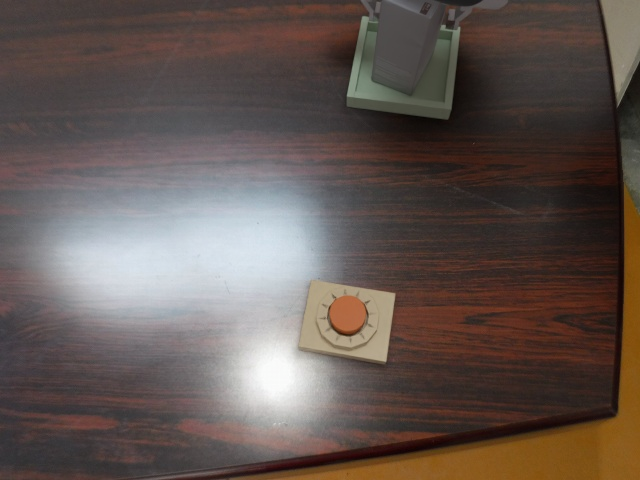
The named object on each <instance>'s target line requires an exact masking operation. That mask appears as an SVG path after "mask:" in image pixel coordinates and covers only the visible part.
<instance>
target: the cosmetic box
mask: <svg viewBox="0 0 640 480" xmlns="http://www.w3.org/2000/svg"><path fill="white" fill-rule="evenodd" d="M380 2H381V5H380V13H379V22H378V29H377V37H376V45H375V53H374V61H373V68H372V77H371V79H372V80H373V81H375V82H377V83H380V84H383V85H385V86H387V87H390V88H392V89H395V90H397V91H399V92H402V93H404V94H407V95H409V96H411V95H412V94H413V92H414V90H415V88H416V86H417V84H418V82H419V81H420V79H421V77H422V75H423V73H424V71H425V69H426V67H427V65H428V63H429V61H430V59H431V57H432V55H433V53H434V49H435V46H436V42H437V39H438V36H439V32H440V29H441V26H442V25H443V22H444V19H445V15H446V12H447V10H448V9H447V8H448V5H443V4H441V3H440V2H437V1H435V0H380Z"/></svg>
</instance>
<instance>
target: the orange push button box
mask: <svg viewBox="0 0 640 480" xmlns="http://www.w3.org/2000/svg"><path fill="white" fill-rule="evenodd" d="M346 295H350V296H354V297H356V298H358V299H359V300H361V301H362V303H363V304H364V306H365V309H366V319H365V323H364V325H363V327H362V328H361V329H360V330H359V331H358V332H356V333H353V334H343V333H340V332H338V331H337V330H336V329H335V328H334V327H333V326H332V324H331V321H330V307H331V305H332V303H333V302H334V301H335V300H336V299H337V298H339V297H341V296H346ZM395 301H396V292H390V291H384V290H378V289H372V288H365V287H359V286H353V285H347V284H340V283H335V282H334V283H333V282H328V281H322V280H317V279H311V280H310V282H309V289H308V294H307V299H306V304H305V308H304V309H305V310H304V315H303V320H302V323H301V324H302V325H301V331H300V335H299V341H298V345H297V346H298V349H299V350H300V351H305V352H309V353H310V352H311V353H315V354H321V355H322V354H323V355H327V356H333V357H339V358H344V359H349V360H355V361H361V362H367V363H372V364H379V365H385V366H386V363H387V360H388V354H389V353H388V352H389V346H390V339H391V338H390V337H391V329H392V325H393V324H392V323H393V317H394V310H395V309H394V308H395Z"/></svg>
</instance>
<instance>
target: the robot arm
mask: <svg viewBox="0 0 640 480" xmlns="http://www.w3.org/2000/svg"><path fill="white" fill-rule="evenodd" d="M435 1H437V2H440V3H441V4H443V5H447V6H454V7H456V8H448V9H447V10H448V11H447V15H446V19H445V25H446V26H445V29H450V30H457V29H458V27H459V25H460V22H461V21H463V20H464V19H465V18H466V17H468V16H469V15H470V14H471V13H472V12H473V9H484V10H494V11H496V10H497V11H498V10H499V9H501V8H503V7H505V6H506V5H507V4H508V3H509V0H435ZM360 3H362V5H363V6H364V8H365V9H366V11H367V12H368V13H369V14H368V17H369V21H372V22H379V13H380V5H381V1H378V0H360Z"/></svg>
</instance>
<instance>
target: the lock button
mask: <svg viewBox="0 0 640 480" xmlns="http://www.w3.org/2000/svg"><path fill="white" fill-rule="evenodd" d="M365 319H366V309H365V306H364V304H363V303H362V301H361V300H359V299H358V298H356V297H354V296H350V295H346V296H341V297H339V298H337V299H336V300H335V301H334V302H333V303H332V305H331V307H330V321H331V324H332V326H333V327H334V328H335V329H336V330H337V331H338V332H340V333H343V334H353V333H356V332H358V331H359V330H360V329H361V328H362V327H363V325H364V323H365Z"/></svg>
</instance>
